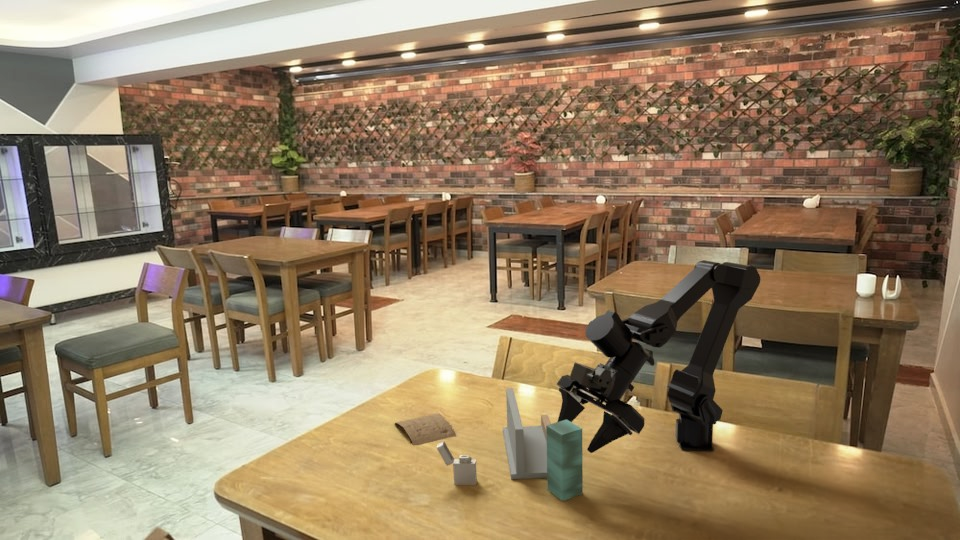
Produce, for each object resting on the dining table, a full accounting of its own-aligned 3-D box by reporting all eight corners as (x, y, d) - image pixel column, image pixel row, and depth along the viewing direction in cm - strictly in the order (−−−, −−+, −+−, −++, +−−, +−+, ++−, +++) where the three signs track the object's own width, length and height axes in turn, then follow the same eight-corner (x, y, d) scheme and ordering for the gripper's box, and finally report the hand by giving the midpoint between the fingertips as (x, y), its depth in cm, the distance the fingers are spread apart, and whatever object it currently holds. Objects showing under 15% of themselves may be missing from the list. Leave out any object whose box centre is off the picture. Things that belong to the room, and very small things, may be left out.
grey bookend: (552, 429, 135) (551, 386, 133) (569, 476, 115) (568, 426, 113) (502, 431, 134) (501, 388, 132) (511, 479, 115) (509, 429, 113)
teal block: (567, 482, 113) (566, 419, 111) (582, 493, 109) (582, 428, 107) (547, 489, 111) (546, 425, 108) (562, 501, 107) (561, 435, 105)
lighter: (476, 479, 115) (475, 440, 113) (476, 484, 113) (474, 445, 112) (439, 479, 115) (437, 440, 114) (438, 484, 114) (436, 444, 112)
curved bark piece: (458, 439, 133) (457, 427, 132) (415, 450, 128) (414, 438, 128) (432, 415, 145) (431, 405, 145) (391, 425, 141) (391, 414, 140)
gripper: (564, 334, 116) (517, 400, 113) (633, 360, 100) (580, 439, 97) (596, 365, 122) (551, 430, 118) (666, 395, 106) (617, 471, 102)
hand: (572, 441), depth 109 cm, fingers open, 9 cm apart
